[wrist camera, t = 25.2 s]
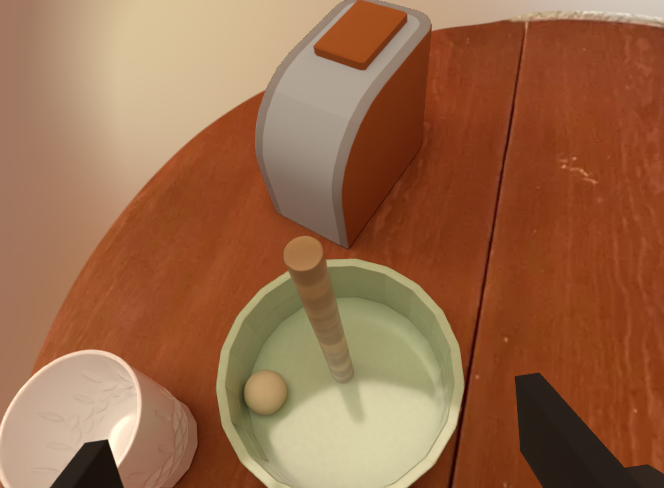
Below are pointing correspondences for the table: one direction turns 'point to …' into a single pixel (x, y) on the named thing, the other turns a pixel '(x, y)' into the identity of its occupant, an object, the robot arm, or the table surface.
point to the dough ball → (265, 392)
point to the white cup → (95, 423)
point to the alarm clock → (344, 116)
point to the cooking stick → (319, 302)
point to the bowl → (344, 384)
